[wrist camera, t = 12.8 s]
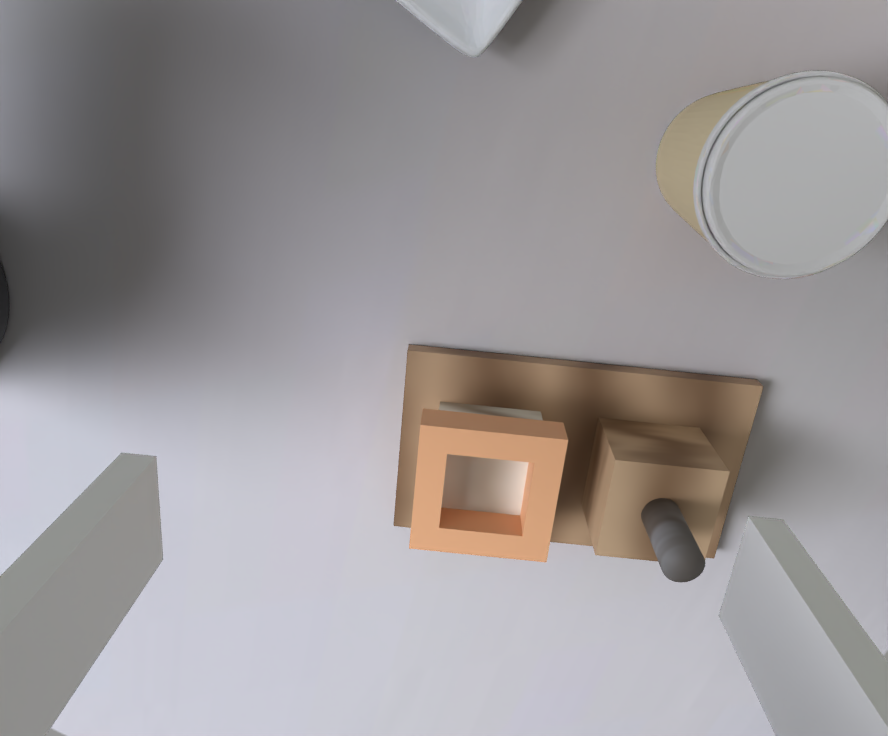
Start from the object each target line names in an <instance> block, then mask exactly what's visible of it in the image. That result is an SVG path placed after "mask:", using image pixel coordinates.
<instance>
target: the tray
mask: <svg viewBox="0 0 888 736" xmlns="http://www.w3.org/2000/svg"><path fill="white" fill-rule="evenodd" d="M396 1H397V2H398V3H399V4H400V5H402V6H403V7H404V8H405V9H406V10H408V11H409V12H410V13H411V14H413V15H414V16H415V17H416V18H417V19H419V20H420V21H421V22H422V23H423V24H425V25H426V26H427V27H428V28H430V29H431V30H432V31H433V32H435V33H436V34H437V35H438V36H440V37H441V38H442V39H443V40H445V41H446V42H447V43H448V44H450V45H451V46H453V47H454V48H455V49H457V50H458V51H459V52H461V53H463V54H465V55H466V56H469V57H472V58H475V57H478V56H479V55H481V54H482V53H483V52H484V51H485V49H486V48H487V47H488V46H489V45H490V44H491V43H492V41H493V40H494V39H495V37H496V36H497V35H498V34H499V32H500V31H501V30H502V28H503V27H504V26H505V24H506V23H507V22H508V20H509V19H510V18H511V16H512V15H513V13H514V12H515V11H516V9H517V8H518V6H519V5H520V4H521V2H522V1H523V0H396Z"/></svg>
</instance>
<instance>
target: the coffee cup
mask: <svg viewBox="0 0 888 736" xmlns="http://www.w3.org/2000/svg"><path fill="white" fill-rule="evenodd" d="M656 177H657V182H658V185H659V189H660V191H661V193H662V195H663V197H664V198H665V200H666V202H667V203H668V204H669V205H670V206H671V207H672V209H673V210H674V211H675V212H676V213H677V214H678V215H679V216H680V217H682V218H683V219H684V220H685V221H686V222H687V223H688V224H689V225H690V226H691V227H692V228H693V229H694V230H695V231H697V232H698V233H699V234H700V235H701V236H702V237H703V238H704V239H705V240H707V241H708V242H709V243H710V245H711V246H712V247H713V249H714V250H715V251H716V252H717V253H718V254H719V255H720V256H721V257H722V258H723V259H725V260H726V261H727V262H728V263H730V264H731V265H733V266H735V267H736V268H738V269H740V270H742V271H745V272H747V273H750V274H753V275H756V276H761V277H765V278H774V279H792V278H800V277H805V276H809V275H813V274H816V273H819V272H822V271H824V270H827V269H829V268H831V267H833V266H836V265H838V264H839V263H841V262H843V261H845V260H846V259H848V258H850V257H851V256H853V255H854V254H856V253H857V252H858V251H859V250H861V249H862V248H863V247H864V246H865V245H867V244H868V243H869V242H870V241H871V240H872V239H873V238H874V237H875V235H876V234H877V233H878V232H879V231H880V230H881V228H882V227H883V226H884V224H885V223H886V222H887V220H888V103H887V101H886V100H885V99H884V98H883V97H882V96H881V95H880V94H879V93H878V92H877V91H876V90H875V89H873V88H872V87H871V86H869V85H868V84H866V83H864V82H863V81H861V80H859V79H857V78H854V77H851V76H849V75H846V74H842V73H837V72H832V71H822V70H817V71H803V72H796V73H792V74H788V75H784V76H781V77H779V78H776V79H773V80H770V81H766V82H761V83H757V84H752V85H748V86H744V87H739V88H735V89H731V90H726V91H722V92H718V93H715V94H712V95H709V96H706V97H703V98H701V99H699V100H697V101H695V102H693V103H692V104H690V105H689V106H687V107H686V108H685V109H684V110H682V111H681V112H680V113H679V114H678V115H677V116H676V117H675V118H674V119H673V121H672V122H671V123H670V125H669V126H668V128H667V129H666V131H665V133H664V135H663V137H662V139H661V142H660V144H659V148H658V152H657V157H656Z"/></svg>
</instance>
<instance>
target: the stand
mask: <svg viewBox="0 0 888 736" xmlns="http://www.w3.org/2000/svg"><path fill="white" fill-rule="evenodd" d="M762 390H763V385H762V384H761V383H760V382H759V381H758V380H756V379H746V378H737V377H727V376H717V375H707V374H697V373H687V372H677V371H667V370H657V369H648V368H638V367H628V366H618V365H608V364H598V363H588V362H578V361H569V360H559V359H549V358H539V357H529V356H519V355H509V354H499V353H489V352H480V351H470V350H460V349H450V348H440V347H430V346H420V345H410V344H409V347H408V351H407V364H406V376H405V389H404V402H403V414H402V427H401V439H400V452H399V465H398V477H397V490H396V502H395V515H394V526H400V527H409V528H411V522H412V511H413V500H414V489H415V478H416V467H417V456H418V445H419V434H420V424H421V417H422V411H423V408H425V409H434V410H444V411H454V412H464V413H474V414H484V415H494V416H504V417H513V418H523V419H533V420H543V421H553V422H563V423H564V426H565V430H566V434H567V437H568V444H567V450H566V455H565V461H564V467H563V472H562V478H561V483H560V489H559V494H558V500H557V506H556V511H555V517H554V522H553V528H552V533H551V539H550V542H558V543H567V544H577V545H587V546H593V548H594V552H595V555H600V556H610V557H620V558H630V559H640V560H650V561H658V562H659V564H660V567H661V569H662V572H663V573H664V575H665V576H666V577H667V578H668V579H670V580H672V581H675V582H688V581H691V580H693V579H695V578H697V577H698V576H699V575H700V574H701V573H702V571H703V570H704V567H705V558H714V557H715V553H716V550H717V546H718V543H719V539H720V536H721V532H722V529H723V525H724V522H725V518H726V515H727V511H728V508H729V504H730V501H731V498H732V494H733V491H734V487H735V484H736V480H737V477H738V473H739V470H740V466H741V463H742V459H743V456H744V452H745V449H746V445H747V442H748V438H749V435H750V431H751V428H752V424H753V421H754V417H755V414H756V411H757V407H758V404H759V400H760V397H761V393H762ZM528 463H529V462H520V461H510V460H500V459H490V458H480V457H470V456H461V455H451V454H447V459H446V469H445V478H444V487H443V496H442V506H441V507H442V508H452V509H462V510H472V511H482V512H491V513H501V514H511V515H520V513H521V507H522V501H523V494H524V488H525V482H526V475H527V469H528Z"/></svg>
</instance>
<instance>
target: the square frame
mask: <svg viewBox="0 0 888 736" xmlns="http://www.w3.org/2000/svg"><path fill="white" fill-rule="evenodd" d="M567 444H568V437H567V434H566V430H565V426H564V423H563V422H553V421H543V420H533V419H523V418H513V417H504V416H494V415H484V414H474V413H464V412H454V411H444V410H434V409H425V408H423V411H422V417H421V424H420V434H419V445H418V456H417V467H416V478H415V489H414V500H413V511H412V522H411V533H410V544H409V548H410V549H420V550H430V551H440V552H450V553H460V554H470V555H480V556H489V557H499V558H509V559H519V560H529V561H539V562H546V561H547V556H548V550H549V544H550V539H551V533H552V528H553V522H554V517H555V511H556V506H557V500H558V494H559V489H560V483H561V478H562V472H563V467H564V461H565V455H566V450H567ZM447 454H451V455H461V456H470V457H480V458H490V459H500V460H510V461H520V462H529V463H528V469H527V475H526V482H525V488H524V494H523V501H522V507H521V513H520V515H511V514H501V513H491V512H482V511H472V510H462V509H452V508H442V507H441V506H442V496H443V487H444V478H445V469H446V459H447Z"/></svg>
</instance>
